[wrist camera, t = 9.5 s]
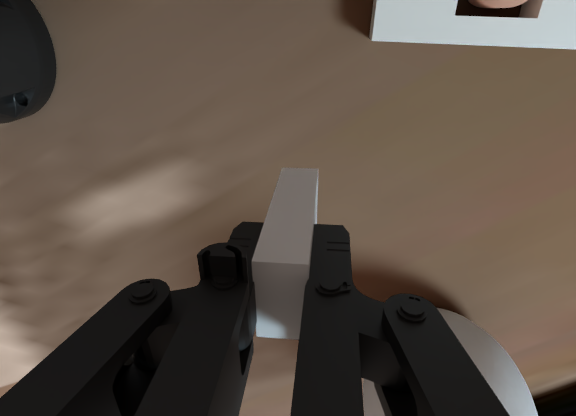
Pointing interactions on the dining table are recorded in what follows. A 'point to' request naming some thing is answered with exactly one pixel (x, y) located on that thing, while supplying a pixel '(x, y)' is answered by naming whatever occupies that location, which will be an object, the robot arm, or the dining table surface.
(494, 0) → the terracotta button
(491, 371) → the pitcher
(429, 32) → the panel
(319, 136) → the dining table surface
